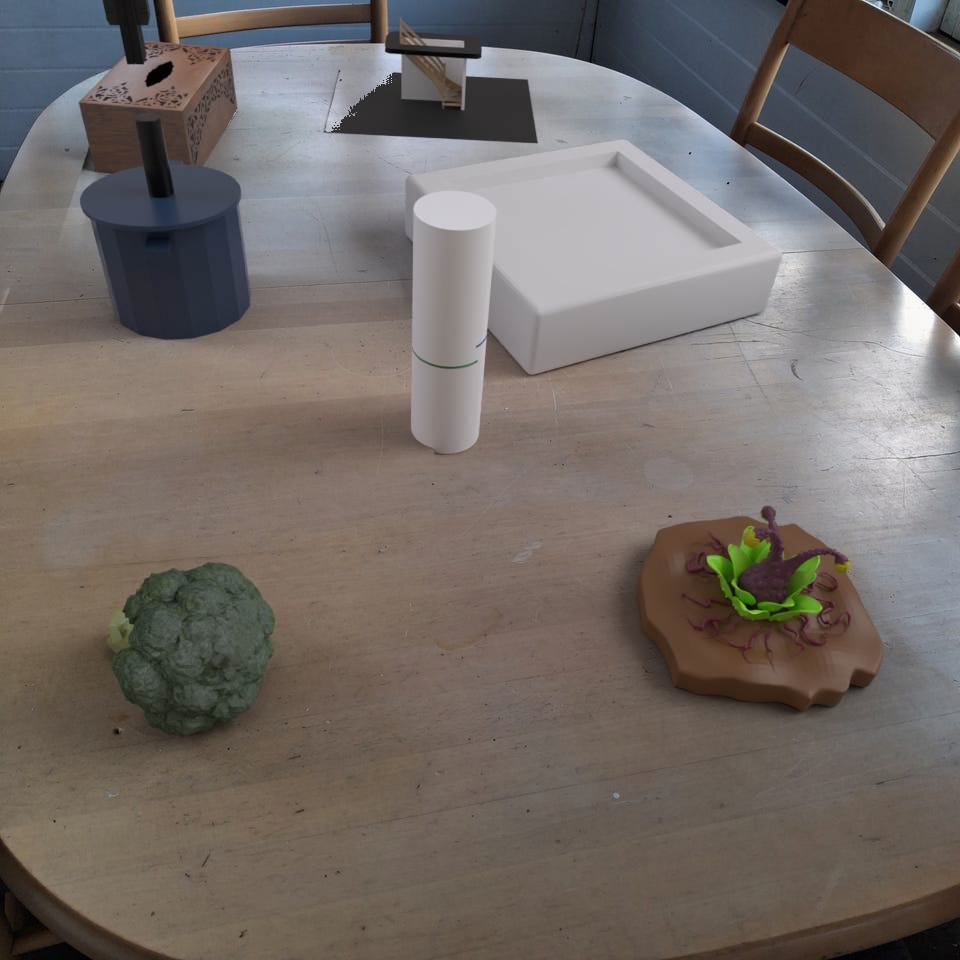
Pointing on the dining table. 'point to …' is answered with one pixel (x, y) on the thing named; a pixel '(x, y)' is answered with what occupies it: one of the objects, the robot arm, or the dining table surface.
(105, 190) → the lid
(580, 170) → the tray
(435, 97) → the architectural model
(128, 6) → the robot arm
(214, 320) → the pot
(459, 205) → the cylindrical container
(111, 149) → the tissue box cover
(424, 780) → the dining table surface
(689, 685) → the plant
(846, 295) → the dining table surface
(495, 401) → the dining table surface
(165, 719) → the vegetable
